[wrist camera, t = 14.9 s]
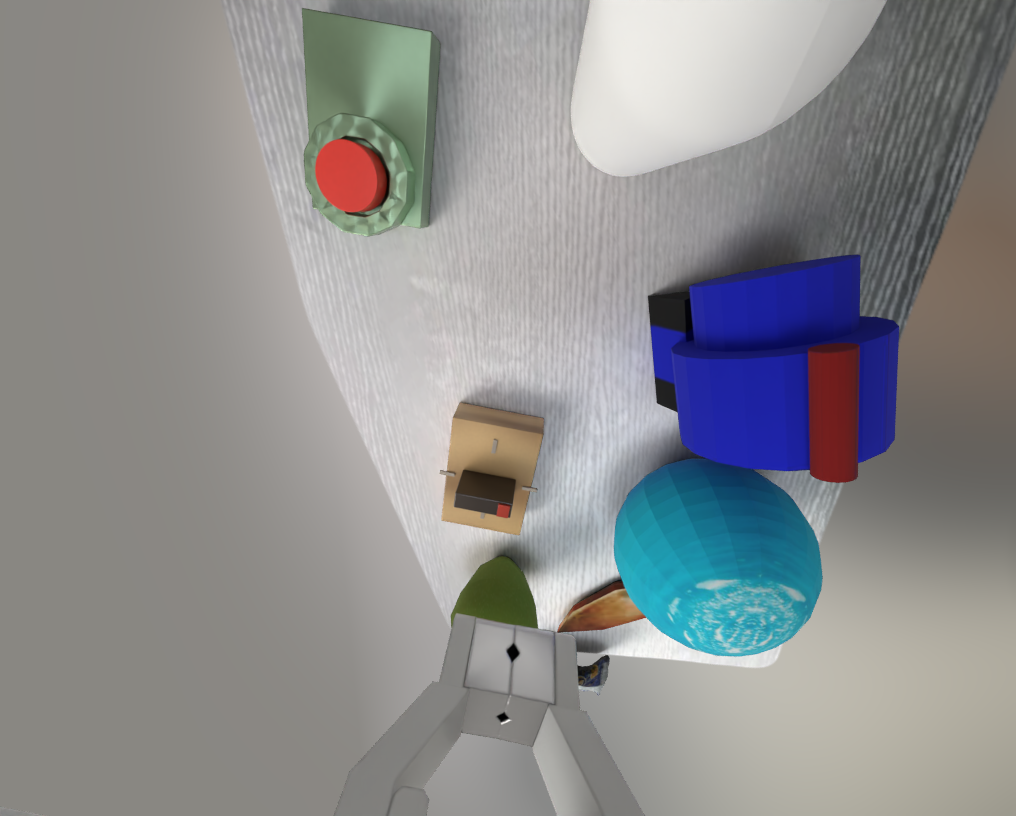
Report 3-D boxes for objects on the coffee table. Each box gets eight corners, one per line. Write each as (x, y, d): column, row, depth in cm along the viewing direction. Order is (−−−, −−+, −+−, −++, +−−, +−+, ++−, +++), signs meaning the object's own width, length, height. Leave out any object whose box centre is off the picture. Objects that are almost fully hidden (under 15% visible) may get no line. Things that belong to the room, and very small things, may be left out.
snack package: (533, 678, 43) (625, 699, 46) (535, 614, 48) (618, 637, 51) (489, 699, 51) (570, 715, 54) (494, 642, 56) (569, 660, 58)
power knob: (461, 482, 38) (452, 509, 35) (463, 469, 38) (454, 494, 34) (513, 492, 38) (509, 520, 35) (516, 479, 38) (512, 506, 34)
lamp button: (327, 137, 26) (312, 133, 25) (387, 148, 26) (377, 145, 25) (329, 206, 28) (316, 206, 26) (386, 216, 28) (376, 217, 26)
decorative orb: (790, 437, 36) (928, 572, 23) (733, 557, 43) (813, 715, 30) (621, 416, 37) (660, 535, 24) (591, 538, 44) (608, 684, 31)
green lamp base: (319, 21, 26) (283, -7, 23) (440, 43, 26) (423, 18, 23) (327, 221, 32) (299, 223, 28) (427, 239, 32) (412, 244, 28)
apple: (451, 556, 47) (423, 654, 37) (508, 525, 44) (494, 623, 34) (498, 600, 50) (484, 703, 40) (554, 574, 47) (555, 678, 37)
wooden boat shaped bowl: (563, 627, 51) (563, 641, 49) (541, 600, 49) (541, 613, 47) (675, 594, 47) (679, 608, 45) (655, 562, 45) (659, 576, 43)
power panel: (453, 401, 38) (445, 416, 35) (550, 419, 38) (550, 436, 35) (442, 500, 44) (434, 520, 41) (526, 516, 43) (525, 538, 41)
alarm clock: (657, 409, 36) (718, 528, 23) (645, 269, 31) (715, 318, 18) (808, 386, 34) (972, 503, 21) (822, 230, 29) (1053, 253, 16)
